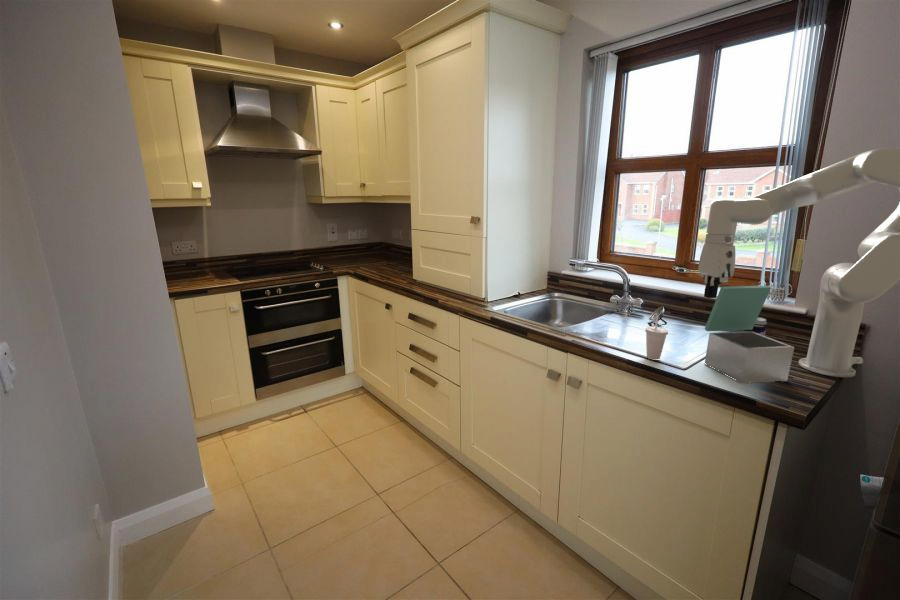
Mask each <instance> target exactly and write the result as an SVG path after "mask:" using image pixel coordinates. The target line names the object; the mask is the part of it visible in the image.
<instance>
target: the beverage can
mask: <svg viewBox="0 0 900 600" xmlns="http://www.w3.org/2000/svg"><path fill="white" fill-rule="evenodd" d="M767 326H768V322H767V318H764V317H759V316H758V318H757V320H756V322H755V324H754V327H753V329H752V330H743V331H753V332H755V333H758V334H761V335H763V336H766V332H767Z"/></svg>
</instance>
